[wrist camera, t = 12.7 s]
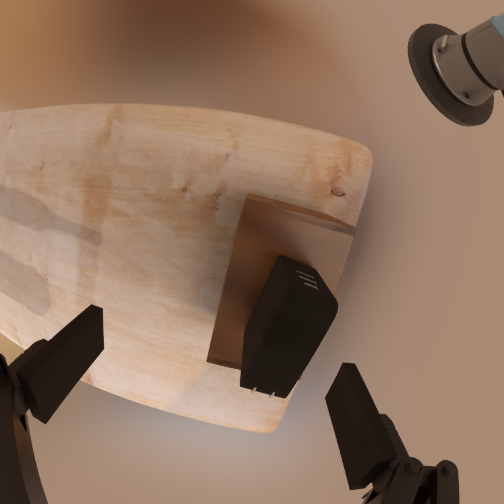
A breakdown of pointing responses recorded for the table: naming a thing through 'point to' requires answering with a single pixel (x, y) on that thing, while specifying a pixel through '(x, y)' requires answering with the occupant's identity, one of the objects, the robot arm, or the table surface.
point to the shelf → (272, 263)
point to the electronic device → (285, 328)
